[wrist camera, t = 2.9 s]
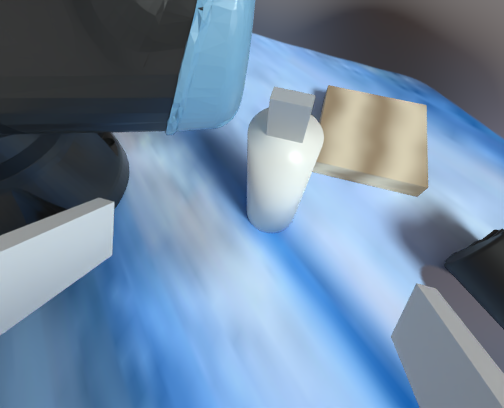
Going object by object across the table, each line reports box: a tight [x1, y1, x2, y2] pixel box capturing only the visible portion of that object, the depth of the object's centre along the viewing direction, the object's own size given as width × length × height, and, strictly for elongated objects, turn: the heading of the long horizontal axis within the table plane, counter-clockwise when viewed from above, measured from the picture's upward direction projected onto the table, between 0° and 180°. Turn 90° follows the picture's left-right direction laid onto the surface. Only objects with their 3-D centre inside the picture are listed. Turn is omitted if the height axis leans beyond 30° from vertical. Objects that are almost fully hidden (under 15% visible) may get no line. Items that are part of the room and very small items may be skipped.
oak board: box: [312, 85, 428, 197], centre depth 32 cm, size 12×12×2 cm
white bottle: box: [247, 87, 324, 233], centre depth 22 cm, size 5×5×15 cm
